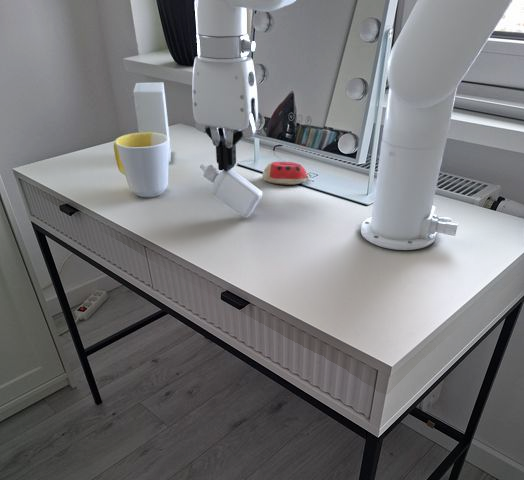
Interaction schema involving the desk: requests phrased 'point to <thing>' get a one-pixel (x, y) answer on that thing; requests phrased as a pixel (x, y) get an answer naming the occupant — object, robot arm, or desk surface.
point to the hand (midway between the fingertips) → (226, 168)
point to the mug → (143, 162)
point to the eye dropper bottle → (233, 190)
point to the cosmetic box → (151, 109)
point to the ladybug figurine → (285, 173)
